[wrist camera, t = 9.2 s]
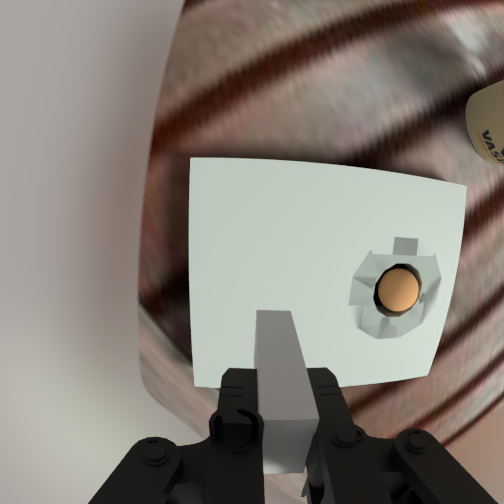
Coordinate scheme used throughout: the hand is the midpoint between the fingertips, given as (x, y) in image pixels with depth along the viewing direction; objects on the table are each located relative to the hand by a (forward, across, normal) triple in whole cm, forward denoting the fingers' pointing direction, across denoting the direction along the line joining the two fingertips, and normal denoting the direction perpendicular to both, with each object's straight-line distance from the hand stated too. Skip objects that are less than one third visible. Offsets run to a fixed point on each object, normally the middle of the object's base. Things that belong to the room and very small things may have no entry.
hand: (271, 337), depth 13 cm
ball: (+9, +11, -1) cm, 14 cm away
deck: (+11, +6, -1) cm, 12 cm away
